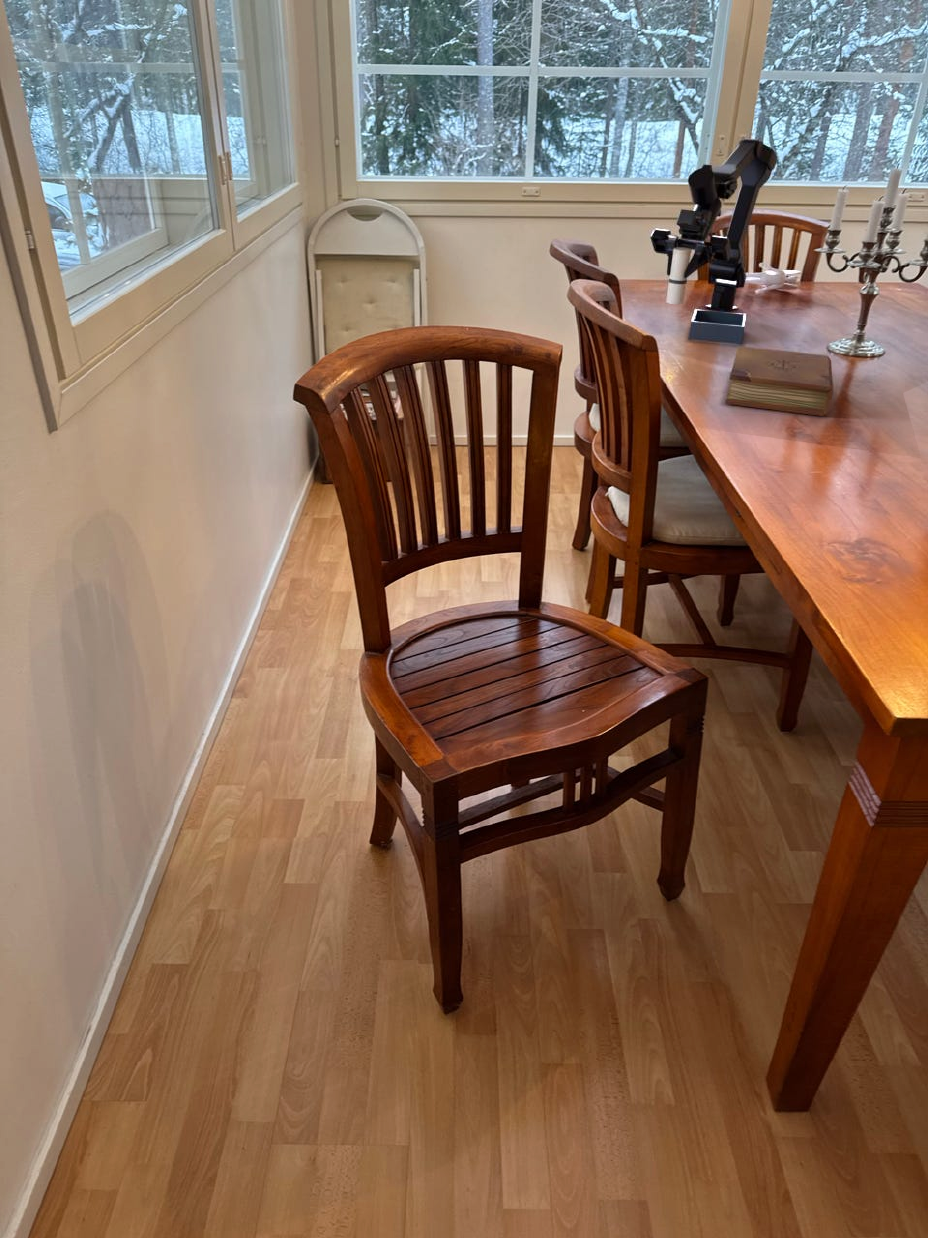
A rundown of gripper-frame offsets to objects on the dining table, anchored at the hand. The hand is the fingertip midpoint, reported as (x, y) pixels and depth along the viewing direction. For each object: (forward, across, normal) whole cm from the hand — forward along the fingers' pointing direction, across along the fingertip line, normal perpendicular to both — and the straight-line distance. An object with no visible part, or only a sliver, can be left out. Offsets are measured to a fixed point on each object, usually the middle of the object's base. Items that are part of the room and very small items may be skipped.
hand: (676, 275), depth 205 cm
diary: (+30, +36, -10) cm, 48 cm away
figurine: (-36, +1, +56) cm, 66 cm away
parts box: (+6, +10, +13) cm, 18 cm away
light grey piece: (+4, 0, +5) cm, 6 cm away
